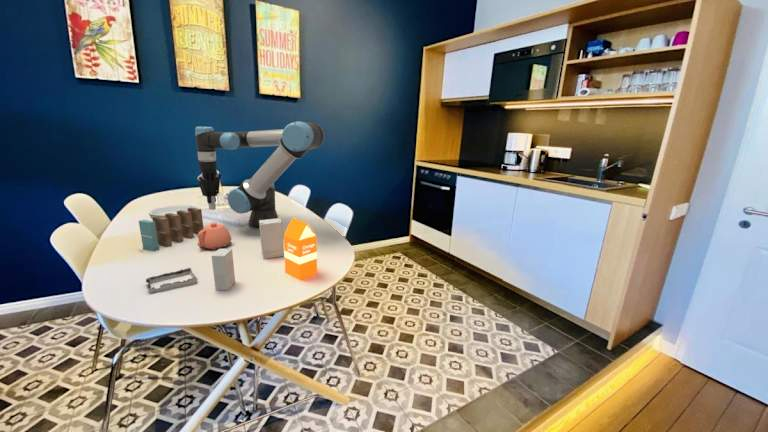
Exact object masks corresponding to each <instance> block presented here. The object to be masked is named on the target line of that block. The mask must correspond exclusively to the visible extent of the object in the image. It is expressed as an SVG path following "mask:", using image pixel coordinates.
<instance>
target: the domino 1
mask: <svg viewBox="0 0 768 432" xmlns="http://www.w3.org/2000/svg"><path fill="white" fill-rule="evenodd" d="M138 226H139V232H140V236H141V244H142V248H143V249H142V250H145V251H151V252H156V251H160V248H159V246H160V245H158V240H157V233H156V227H155V222H154V221H153V220H148V219H141V220H138Z"/></svg>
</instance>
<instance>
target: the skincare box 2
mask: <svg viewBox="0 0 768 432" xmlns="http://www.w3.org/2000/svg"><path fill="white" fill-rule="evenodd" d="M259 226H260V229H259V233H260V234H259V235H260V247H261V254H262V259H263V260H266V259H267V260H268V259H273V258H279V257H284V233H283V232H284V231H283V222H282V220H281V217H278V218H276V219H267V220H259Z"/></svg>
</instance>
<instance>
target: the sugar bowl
mask: <svg viewBox="0 0 768 432" xmlns="http://www.w3.org/2000/svg"><path fill="white" fill-rule="evenodd" d="M197 238H198V242H197V246H198V247H200V248H201V247H202V248H204V249H212V250H218V249H221V248H223V247H226V246H227V245H228V244H230V243H231V241H232V236H231V234H230V231H229V230H228V229H227V227H226V226H224V225H223V224H220V223H217V222H211V223H209V224H208V225H205V226H203V230H201V231H200V232H199V233H198V235H197Z"/></svg>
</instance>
